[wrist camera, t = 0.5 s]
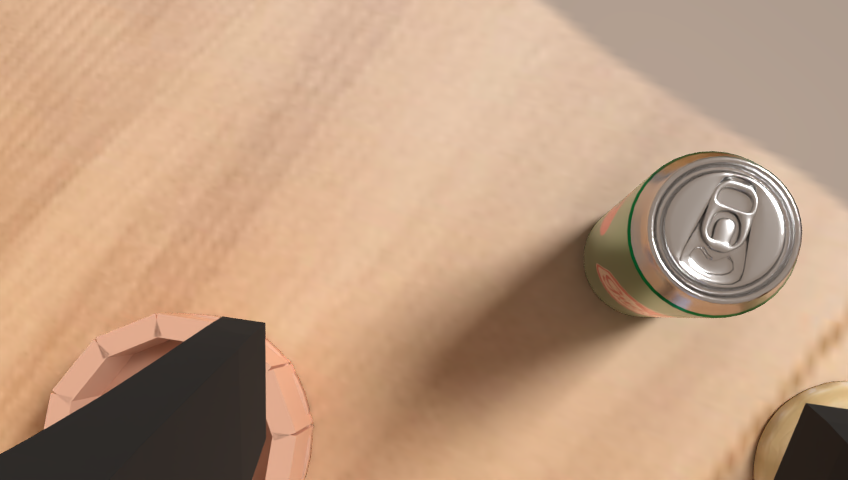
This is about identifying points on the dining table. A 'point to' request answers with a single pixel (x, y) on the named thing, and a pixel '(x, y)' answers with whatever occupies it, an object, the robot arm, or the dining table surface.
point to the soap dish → (156, 336)
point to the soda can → (696, 240)
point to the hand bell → (792, 425)
